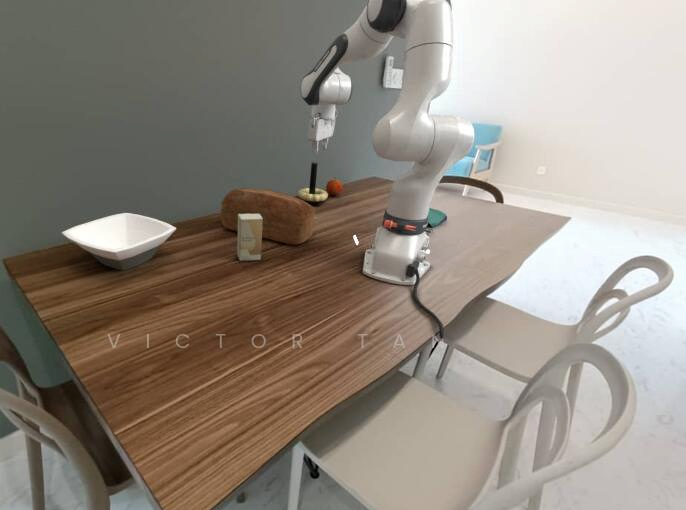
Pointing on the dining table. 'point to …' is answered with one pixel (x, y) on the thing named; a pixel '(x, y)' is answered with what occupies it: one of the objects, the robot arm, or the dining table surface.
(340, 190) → the fruit
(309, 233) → the bread
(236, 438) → the dining table surface
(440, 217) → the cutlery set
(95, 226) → the bowl
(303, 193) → the pale yellow segmented ring
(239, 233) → the cosmetic box
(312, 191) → the peg stand
